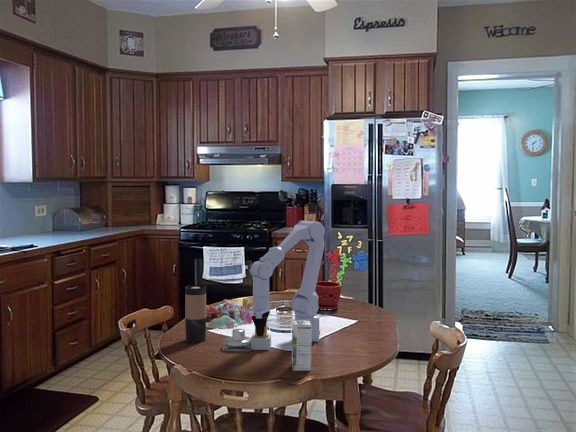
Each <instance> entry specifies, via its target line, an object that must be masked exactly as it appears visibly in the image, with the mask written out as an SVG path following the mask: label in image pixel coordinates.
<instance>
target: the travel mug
mask: <svg viewBox="0 0 576 432" xmlns="http://www.w3.org/2000/svg"><path fill="white" fill-rule="evenodd" d="M184 289H185V291H184V293H185V294H184V295H185V296H184V297H185V298H184V300H185V301H184V303H185V304H184V305H185V306H184V311H185V312H184V313H185V315H184V316H185V317H184V319H185V323H184V324H185V341H186V343H190V344H198V343H200V344H201V343H203V342H205V341H206V340H207V337H206V336H207V328H206V305H207V286H206V285H204V284H190V285H186V286H185V288H184Z"/></svg>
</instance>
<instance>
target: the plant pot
mask: <svg viewBox="0 0 576 432" xmlns="http://www.w3.org/2000/svg"><path fill="white" fill-rule="evenodd" d="M315 292H316V294H317V295H318V297H319V298H318V308H319V309H326V310H328V309H335V310H337V309H338V308H339V301H340V299H341V293H342V284H341V283H338V282H336V281H329V280H328V281H327V280H326V281H325V280H323V281H321V280H319V281H317V283H316V288H315ZM336 308H337V309H336ZM319 309H318V310H319Z"/></svg>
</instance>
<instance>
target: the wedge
mask: <svg viewBox="0 0 576 432" xmlns="http://www.w3.org/2000/svg"><path fill="white" fill-rule="evenodd" d="M254 334H255V338H267V334H268V327H267V326H266V327H265V329H264V335H263V336H257V334H256V329H255V328H254Z"/></svg>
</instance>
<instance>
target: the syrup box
mask: <svg viewBox="0 0 576 432" xmlns="http://www.w3.org/2000/svg"><path fill="white" fill-rule="evenodd" d="M291 332H292V335H291V367H292V371H293V372H300V371H301V372H302V371H303V372H305V371H307V372H308V371H312V344H313V341H312V325H311V323H310V321H305V320H296V321H295V320H292V331H291Z"/></svg>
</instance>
